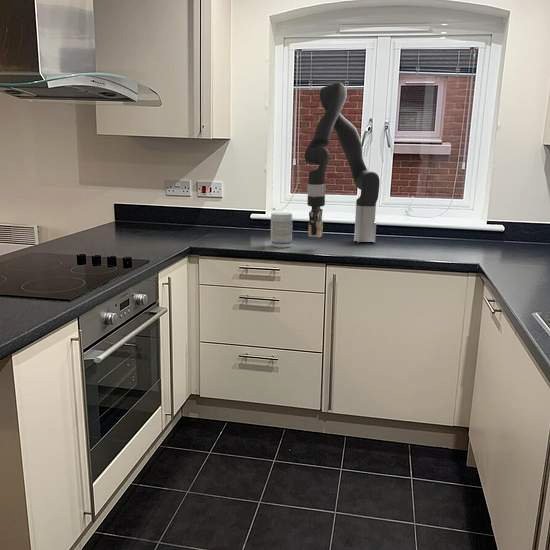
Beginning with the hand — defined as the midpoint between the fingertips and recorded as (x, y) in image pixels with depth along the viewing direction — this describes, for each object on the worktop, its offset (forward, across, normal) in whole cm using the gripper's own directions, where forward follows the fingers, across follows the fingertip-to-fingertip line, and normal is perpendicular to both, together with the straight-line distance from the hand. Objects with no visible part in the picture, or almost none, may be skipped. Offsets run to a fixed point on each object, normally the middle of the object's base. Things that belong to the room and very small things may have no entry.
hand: (315, 233), depth 255 cm
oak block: (+1, 0, 0) cm, 1 cm away
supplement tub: (+7, 0, -16) cm, 17 cm away
